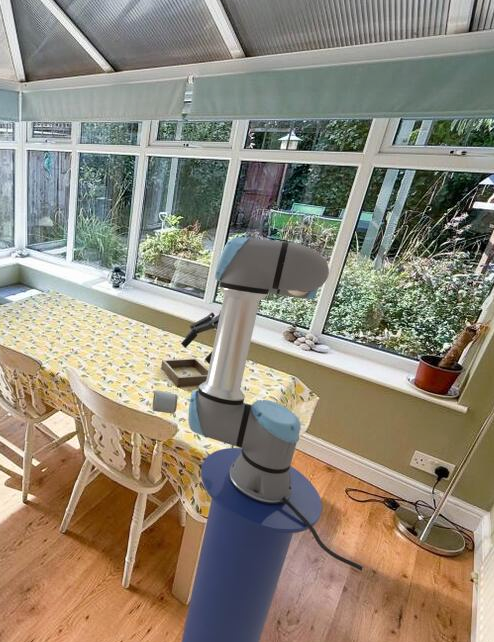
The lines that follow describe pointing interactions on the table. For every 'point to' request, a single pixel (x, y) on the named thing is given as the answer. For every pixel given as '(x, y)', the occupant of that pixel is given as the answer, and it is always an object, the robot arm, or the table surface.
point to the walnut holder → (185, 380)
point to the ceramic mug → (164, 402)
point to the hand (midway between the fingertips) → (194, 353)
